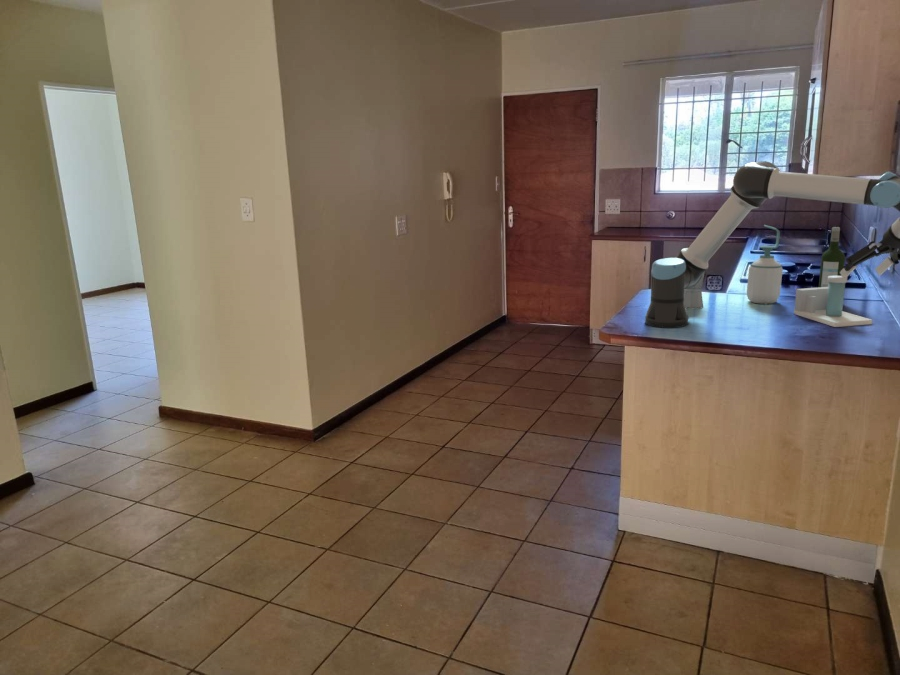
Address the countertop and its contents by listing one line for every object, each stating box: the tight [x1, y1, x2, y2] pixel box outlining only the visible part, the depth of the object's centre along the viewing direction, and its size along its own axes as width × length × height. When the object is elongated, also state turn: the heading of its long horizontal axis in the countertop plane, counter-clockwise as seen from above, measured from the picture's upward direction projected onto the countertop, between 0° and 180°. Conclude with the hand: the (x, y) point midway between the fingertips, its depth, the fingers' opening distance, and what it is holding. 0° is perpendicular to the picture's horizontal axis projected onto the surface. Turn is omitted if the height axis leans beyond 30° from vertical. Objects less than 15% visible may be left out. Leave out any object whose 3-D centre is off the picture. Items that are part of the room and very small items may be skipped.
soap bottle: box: [746, 224, 784, 305], centre depth 262 cm, size 12×12×31 cm
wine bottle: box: [818, 226, 846, 287], centre depth 255 cm, size 8×8×30 cm
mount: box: [793, 286, 873, 328], centre depth 234 cm, size 22×14×10 cm, turn 7°
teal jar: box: [826, 276, 848, 316], centre depth 232 cm, size 6×6×14 cm
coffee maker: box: [684, 271, 707, 309], centre depth 263 cm, size 15×9×18 cm, turn 129°
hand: (860, 273), depth 220 cm, fingers open, 13 cm apart
